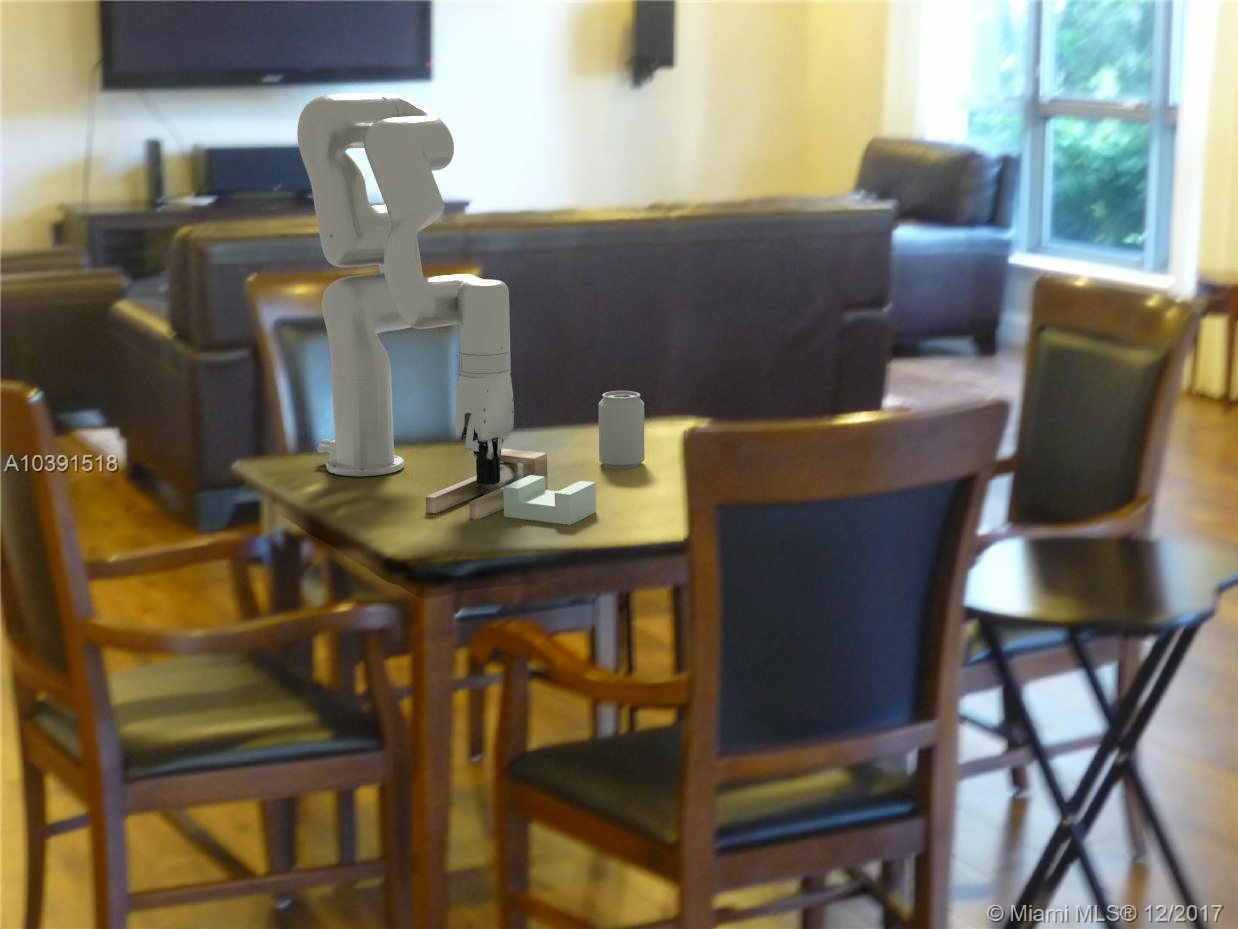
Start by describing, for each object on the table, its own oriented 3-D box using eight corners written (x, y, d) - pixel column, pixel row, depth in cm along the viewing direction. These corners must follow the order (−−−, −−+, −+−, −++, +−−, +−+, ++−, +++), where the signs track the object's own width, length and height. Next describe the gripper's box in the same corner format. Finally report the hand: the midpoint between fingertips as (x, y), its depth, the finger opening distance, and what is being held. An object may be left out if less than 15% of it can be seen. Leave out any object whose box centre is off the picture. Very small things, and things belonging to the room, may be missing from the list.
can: (646, 460, 285) (646, 389, 282) (642, 470, 278) (642, 397, 275) (601, 459, 286) (601, 388, 283) (596, 469, 279) (595, 397, 276)
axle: (506, 493, 260) (498, 466, 260) (482, 499, 262) (474, 472, 262) (543, 476, 271) (535, 450, 270) (520, 482, 273) (512, 456, 272)
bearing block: (423, 512, 253) (422, 474, 251) (492, 483, 270) (491, 447, 269) (481, 520, 248) (480, 481, 247) (547, 489, 266) (547, 453, 264)
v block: (503, 516, 250) (503, 486, 249) (530, 504, 257) (530, 475, 256) (570, 525, 245) (570, 494, 244) (595, 512, 252) (595, 482, 251)
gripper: (489, 354, 263) (492, 470, 267) (436, 369, 250) (440, 491, 254) (532, 357, 260) (534, 475, 264) (480, 373, 247) (484, 496, 251)
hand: (488, 482), depth 259 cm, fingers closed
